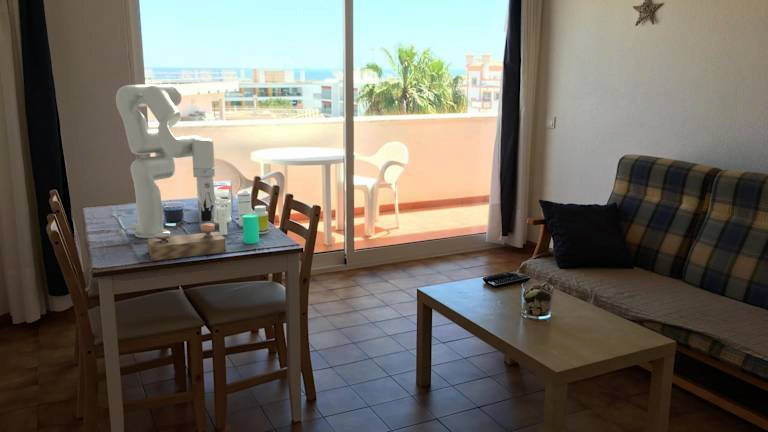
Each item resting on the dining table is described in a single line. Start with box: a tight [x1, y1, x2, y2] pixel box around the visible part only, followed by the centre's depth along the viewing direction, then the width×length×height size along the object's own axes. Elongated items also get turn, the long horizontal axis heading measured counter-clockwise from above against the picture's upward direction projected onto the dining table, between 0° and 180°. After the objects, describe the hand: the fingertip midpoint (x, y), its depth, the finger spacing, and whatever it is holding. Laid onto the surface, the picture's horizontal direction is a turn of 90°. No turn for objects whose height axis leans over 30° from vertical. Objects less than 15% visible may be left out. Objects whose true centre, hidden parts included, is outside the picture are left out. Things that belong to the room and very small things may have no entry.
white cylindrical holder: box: [213, 197, 232, 236], centre depth 262 cm, size 7×7×15 cm
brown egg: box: [200, 223, 216, 238], centre depth 240 cm, size 5×5×7 cm
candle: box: [242, 213, 260, 245], centre depth 251 cm, size 6×6×12 cm
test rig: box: [146, 231, 227, 262], centre depth 237 cm, size 26×12×5 cm, turn 116°
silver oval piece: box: [156, 229, 171, 243], centre depth 233 cm, size 5×5×7 cm
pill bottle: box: [252, 205, 270, 235], centre depth 265 cm, size 6×6×11 cm
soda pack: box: [197, 179, 234, 228], centre depth 293 cm, size 41×13×14 cm, turn 10°
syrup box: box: [236, 190, 253, 227], centre depth 277 cm, size 6×6×14 cm
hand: (206, 220), depth 239 cm, fingers closed
